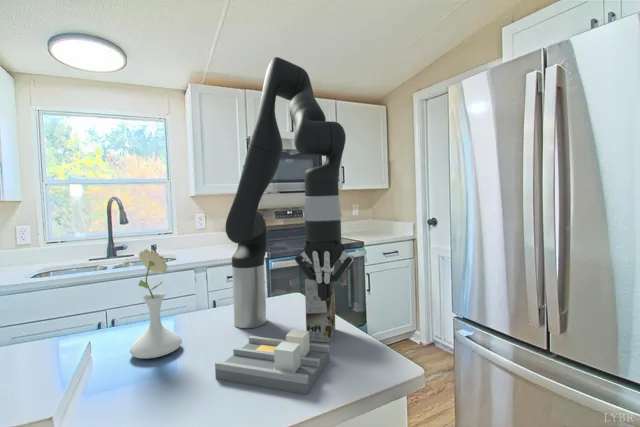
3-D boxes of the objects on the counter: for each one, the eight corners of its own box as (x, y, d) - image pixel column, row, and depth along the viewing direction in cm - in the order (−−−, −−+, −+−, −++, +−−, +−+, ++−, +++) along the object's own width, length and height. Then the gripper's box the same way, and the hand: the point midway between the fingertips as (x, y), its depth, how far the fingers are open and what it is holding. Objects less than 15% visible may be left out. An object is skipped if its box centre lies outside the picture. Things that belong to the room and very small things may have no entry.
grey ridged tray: (215, 378, 68) (214, 363, 68) (251, 348, 82) (250, 335, 82) (306, 394, 62) (306, 377, 62) (329, 359, 75) (329, 345, 75)
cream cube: (286, 355, 72) (285, 335, 72) (293, 348, 76) (292, 329, 76) (303, 358, 71) (302, 337, 71) (309, 350, 74) (309, 331, 74)
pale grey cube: (274, 370, 66) (274, 349, 66) (282, 362, 69) (282, 341, 69) (293, 373, 65) (292, 351, 65) (300, 365, 68) (299, 343, 68)
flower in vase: (190, 350, 82) (185, 248, 80) (140, 369, 73) (134, 255, 72) (167, 336, 90) (163, 244, 89) (120, 351, 82) (115, 250, 81)
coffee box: (330, 343, 84) (329, 279, 83) (305, 341, 85) (303, 278, 84) (336, 328, 93) (334, 270, 92) (313, 327, 94) (311, 270, 93)
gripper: (286, 219, 69) (289, 303, 69) (349, 218, 64) (352, 307, 65) (300, 217, 76) (303, 293, 77) (357, 216, 71) (360, 296, 72)
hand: (325, 299), depth 71 cm, fingers closed
